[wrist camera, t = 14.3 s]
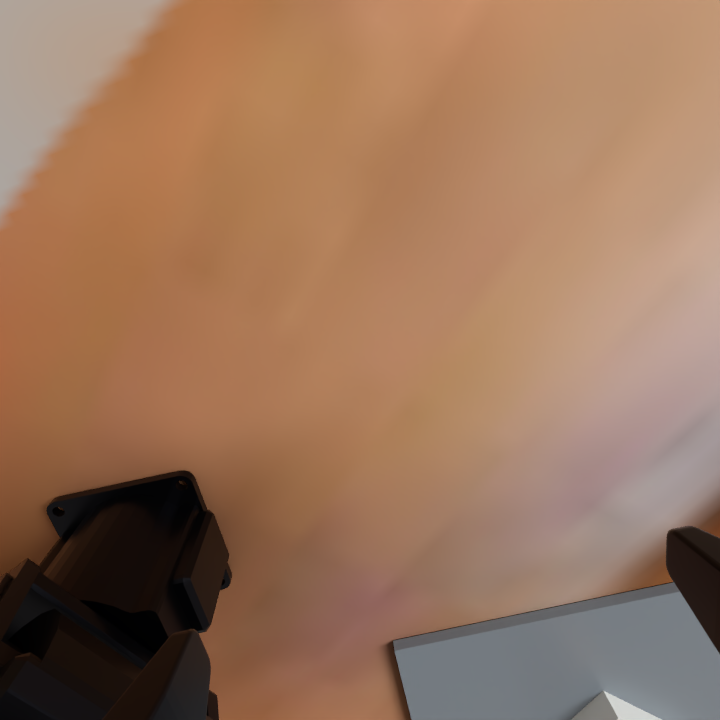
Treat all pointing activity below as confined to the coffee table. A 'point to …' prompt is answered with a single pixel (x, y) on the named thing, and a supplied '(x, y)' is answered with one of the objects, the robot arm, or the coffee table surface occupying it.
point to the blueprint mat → (569, 664)
